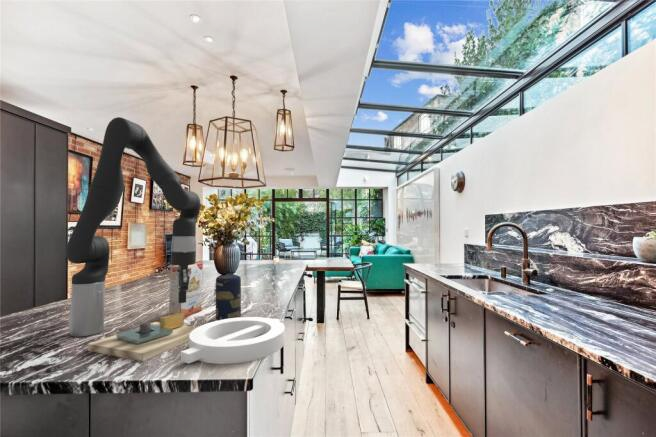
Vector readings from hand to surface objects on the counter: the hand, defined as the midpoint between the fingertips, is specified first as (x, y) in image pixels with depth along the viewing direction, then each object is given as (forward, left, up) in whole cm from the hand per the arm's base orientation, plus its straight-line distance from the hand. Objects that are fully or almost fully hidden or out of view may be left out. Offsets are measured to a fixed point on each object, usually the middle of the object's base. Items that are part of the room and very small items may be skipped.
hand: (182, 302), depth 102 cm
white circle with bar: (+22, +1, -12) cm, 25 cm away
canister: (+2, +22, -12) cm, 25 cm away
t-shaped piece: (-6, -5, -9) cm, 12 cm away
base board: (-6, -7, -11) cm, 14 cm away
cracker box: (-20, +23, -12) cm, 33 cm away
